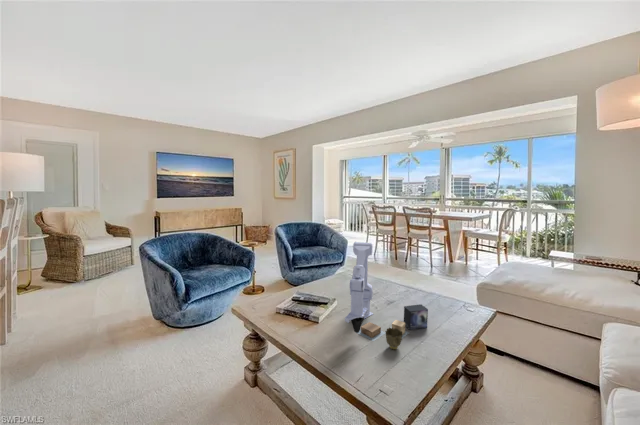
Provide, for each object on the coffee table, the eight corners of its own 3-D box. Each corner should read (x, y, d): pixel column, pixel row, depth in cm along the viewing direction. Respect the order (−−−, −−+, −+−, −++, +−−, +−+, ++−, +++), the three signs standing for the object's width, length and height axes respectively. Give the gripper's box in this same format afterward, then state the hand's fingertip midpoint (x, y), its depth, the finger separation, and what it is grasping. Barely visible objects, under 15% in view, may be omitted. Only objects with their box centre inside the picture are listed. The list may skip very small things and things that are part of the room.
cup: (389, 341, 131) (389, 325, 130) (404, 347, 126) (405, 330, 125) (382, 348, 125) (382, 332, 124) (397, 355, 120) (398, 337, 119)
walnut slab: (360, 332, 139) (360, 326, 138) (369, 327, 143) (369, 321, 143) (372, 337, 133) (372, 332, 133) (380, 332, 138) (380, 327, 138)
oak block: (391, 333, 138) (391, 323, 137) (395, 328, 142) (395, 319, 141) (401, 336, 135) (401, 326, 134) (405, 332, 139) (405, 322, 138)
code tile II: (387, 332, 138) (387, 332, 138) (395, 327, 144) (395, 326, 144) (401, 339, 133) (401, 338, 133) (409, 333, 138) (409, 332, 138)
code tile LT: (355, 332, 139) (355, 332, 139) (368, 325, 146) (368, 324, 146) (373, 341, 131) (373, 341, 131) (386, 333, 138) (386, 332, 138)
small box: (409, 331, 140) (410, 311, 139) (402, 324, 146) (403, 305, 145) (427, 328, 142) (428, 309, 141) (420, 322, 149) (421, 303, 148)
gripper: (353, 311, 121) (353, 340, 123) (373, 302, 131) (372, 329, 132) (341, 306, 127) (341, 334, 128) (361, 297, 136) (361, 324, 138)
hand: (356, 331), depth 130 cm, fingers closed
